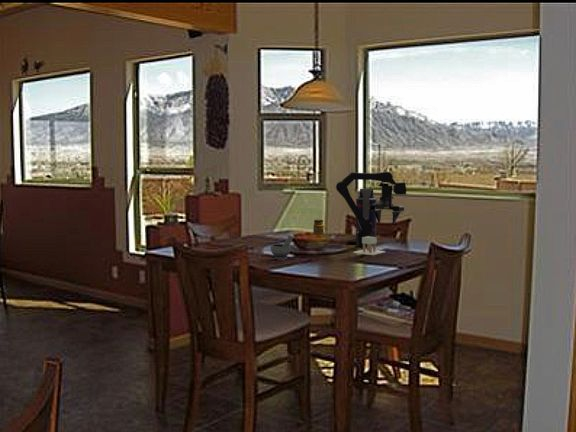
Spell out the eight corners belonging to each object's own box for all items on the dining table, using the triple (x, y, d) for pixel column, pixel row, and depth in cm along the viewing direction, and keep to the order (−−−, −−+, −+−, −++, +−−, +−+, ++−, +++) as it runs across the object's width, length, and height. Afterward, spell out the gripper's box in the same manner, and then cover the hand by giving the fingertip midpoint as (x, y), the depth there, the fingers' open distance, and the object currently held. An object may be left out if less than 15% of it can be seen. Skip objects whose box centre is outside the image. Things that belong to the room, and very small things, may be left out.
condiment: (326, 240, 404) (326, 220, 403) (314, 241, 400) (314, 221, 398) (319, 239, 410) (319, 218, 409) (307, 240, 406) (307, 219, 404)
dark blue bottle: (356, 237, 416) (356, 187, 412) (376, 237, 414) (376, 187, 411) (355, 240, 402) (355, 189, 399) (376, 241, 400) (376, 189, 397)
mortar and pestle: (270, 261, 336) (270, 236, 335) (270, 257, 346) (270, 233, 344) (294, 260, 337) (294, 236, 335) (293, 257, 346) (293, 233, 345)
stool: (361, 251, 360) (362, 237, 359) (367, 250, 364) (367, 236, 364) (370, 252, 357) (371, 238, 356) (376, 251, 361) (376, 237, 360)
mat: (353, 252, 360) (353, 251, 360) (366, 250, 369) (366, 249, 369) (372, 255, 352) (372, 254, 352) (385, 252, 361) (385, 251, 361)
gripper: (363, 194, 375) (363, 223, 377) (393, 196, 363) (393, 226, 365) (375, 193, 384) (374, 221, 385) (404, 195, 372) (404, 224, 373)
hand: (386, 223), depth 377 cm, fingers open, 9 cm apart
